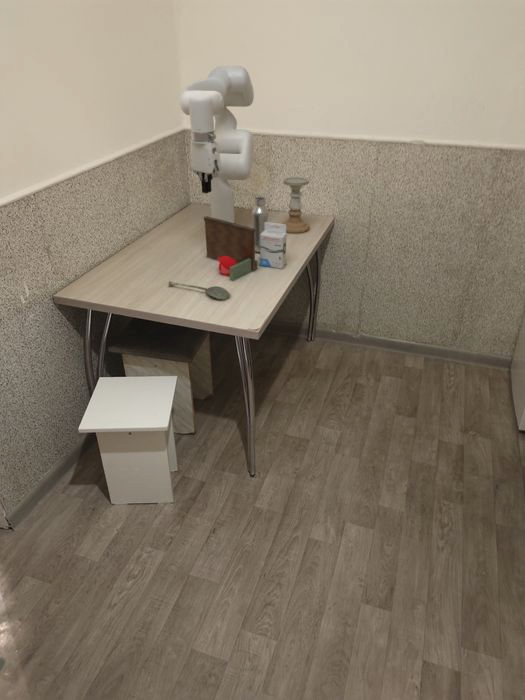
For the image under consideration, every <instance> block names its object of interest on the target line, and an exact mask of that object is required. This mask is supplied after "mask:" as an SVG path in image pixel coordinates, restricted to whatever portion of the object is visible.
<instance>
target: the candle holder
mask: <svg viewBox="0 0 525 700" xmlns="http://www.w3.org/2000/svg"><path fill="white" fill-rule="evenodd" d="M282 182H283V184H284V185H286V186H289V188H290V189H291V192H290V193H289V197H290V201H289V204H288V209H289V210H288V212H287V214H288V215H289V217H288V218H289V219H288V220H284V222H282V223H281V224H286V233H287V234H288V233H289V234H302V233H305V232H308V231H309V230H310V225H309V223H307V222H305V221H304V220H302V219H301V216H302V214H303V212H302V210H301V209H302V208H303V205H302V201H301V197H302V195H303V194H302V192H301V189H302V188H303V186H307V185H308V184H309V183H310V179H308V178H305V177H300V176H291V177H285V178H283V181H282Z"/></svg>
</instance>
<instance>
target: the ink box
mask: <svg viewBox="0 0 525 700" xmlns="http://www.w3.org/2000/svg"><path fill="white" fill-rule="evenodd" d="M264 229H265V230H264V231H263V232H262V233H261V234H260V252H259V266H260V267H267V268H274V269H281V270H282V269H283V268H284V267H285V266H286V263H287V262H286V261H287V236H288V235H287V234H288V232H286V224H282V223H277V222H269V221H268V222H265V223H264Z"/></svg>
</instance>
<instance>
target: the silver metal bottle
mask: <svg viewBox="0 0 525 700" xmlns="http://www.w3.org/2000/svg"><path fill="white" fill-rule="evenodd" d="M265 204H266V198H265V197H263V196H262V197H261V196H258V197H255V198H254V206H253V208H252V210H251V211H250V212H251V213H250V215H251V221H252V222H251V223H252V228H254V229H255V253H256V252H257V253H260V234H261V233H262V232H263V231H264V230H265V229H264V223H265V222H269V221H268V220H269V210H268V208H267V206H266V205H265Z"/></svg>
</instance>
